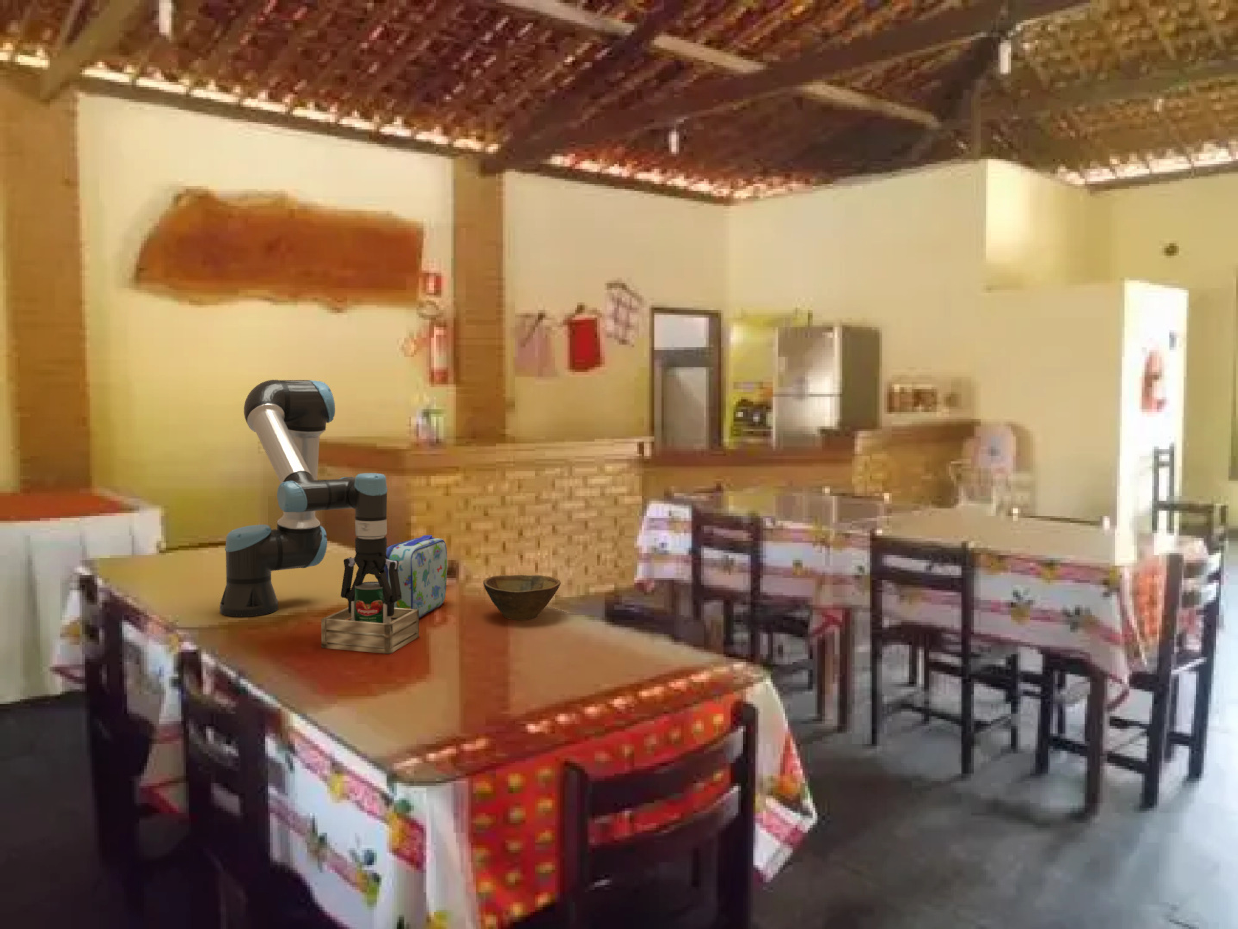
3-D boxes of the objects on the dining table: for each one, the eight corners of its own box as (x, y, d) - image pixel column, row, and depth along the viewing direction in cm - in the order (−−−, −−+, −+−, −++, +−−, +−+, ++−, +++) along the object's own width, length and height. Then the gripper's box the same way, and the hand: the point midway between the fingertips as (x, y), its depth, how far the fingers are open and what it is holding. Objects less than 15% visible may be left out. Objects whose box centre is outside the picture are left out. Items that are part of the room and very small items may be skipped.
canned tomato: (358, 634, 229) (358, 589, 228) (351, 626, 236) (351, 583, 235) (391, 630, 233) (391, 586, 232) (383, 623, 240) (383, 580, 239)
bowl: (575, 612, 269) (576, 577, 268) (535, 630, 249) (536, 593, 248) (509, 603, 278) (510, 570, 278) (465, 620, 258) (465, 584, 257)
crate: (321, 647, 229) (321, 619, 228) (354, 631, 244) (354, 604, 244) (389, 653, 225) (389, 625, 224) (418, 636, 240) (418, 609, 240)
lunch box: (416, 600, 280) (417, 530, 278) (451, 602, 278) (451, 532, 276) (377, 621, 255) (377, 544, 253) (414, 624, 253) (414, 546, 251)
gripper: (324, 536, 231) (325, 628, 233) (403, 541, 226) (403, 634, 228) (340, 531, 238) (340, 620, 240) (416, 536, 234) (416, 627, 236)
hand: (371, 627), depth 234 cm, fingers closed on canned tomato, 8 cm apart
